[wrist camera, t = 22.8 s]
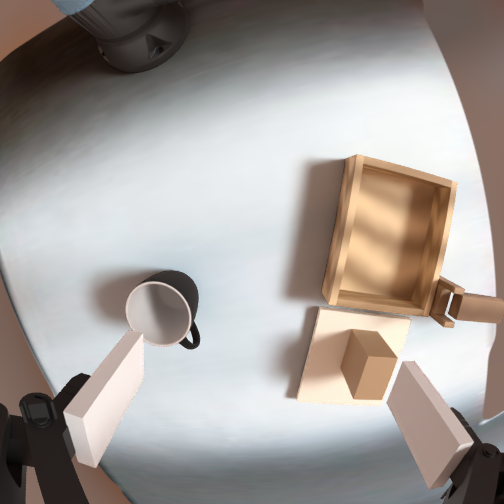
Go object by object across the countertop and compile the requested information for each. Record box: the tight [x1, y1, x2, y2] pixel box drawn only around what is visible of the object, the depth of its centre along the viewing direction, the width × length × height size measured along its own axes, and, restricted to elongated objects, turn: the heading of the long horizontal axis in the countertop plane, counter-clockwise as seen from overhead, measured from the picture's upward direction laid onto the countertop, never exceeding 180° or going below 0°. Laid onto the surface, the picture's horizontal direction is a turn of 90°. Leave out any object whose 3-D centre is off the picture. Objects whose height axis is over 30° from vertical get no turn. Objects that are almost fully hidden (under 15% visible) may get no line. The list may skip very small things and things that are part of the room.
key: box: [448, 293, 504, 323], centre depth 39 cm, size 4×11×2 cm, turn 81°
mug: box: [125, 271, 200, 349], centre depth 44 cm, size 12×9×10 cm
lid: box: [296, 306, 411, 406], centre depth 45 cm, size 17×16×11 cm
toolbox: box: [321, 154, 465, 328], centre depth 41 cm, size 20×18×10 cm
